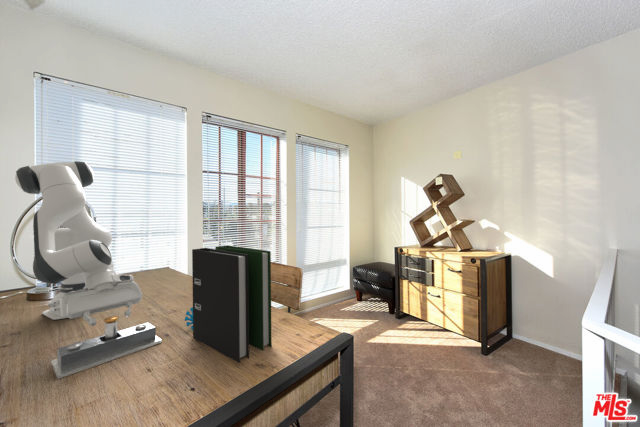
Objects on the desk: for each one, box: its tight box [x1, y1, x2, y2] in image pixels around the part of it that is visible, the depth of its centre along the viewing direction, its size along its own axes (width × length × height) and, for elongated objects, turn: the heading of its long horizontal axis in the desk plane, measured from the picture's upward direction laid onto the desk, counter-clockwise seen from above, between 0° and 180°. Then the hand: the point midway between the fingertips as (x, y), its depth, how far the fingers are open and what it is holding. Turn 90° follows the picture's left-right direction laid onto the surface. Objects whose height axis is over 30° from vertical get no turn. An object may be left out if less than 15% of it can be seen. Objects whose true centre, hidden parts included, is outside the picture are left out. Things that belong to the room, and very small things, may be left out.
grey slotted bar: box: [51, 322, 163, 380], centre depth 86 cm, size 26×12×6 cm, turn 141°
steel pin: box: [104, 315, 119, 341], centre depth 87 cm, size 4×4×10 cm
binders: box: [191, 245, 273, 364], centre depth 93 cm, size 27×15×32 cm, turn 51°
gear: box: [184, 306, 193, 331], centre depth 107 cm, size 11×6×10 cm
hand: (111, 320), depth 88 cm, fingers open, 8 cm apart
